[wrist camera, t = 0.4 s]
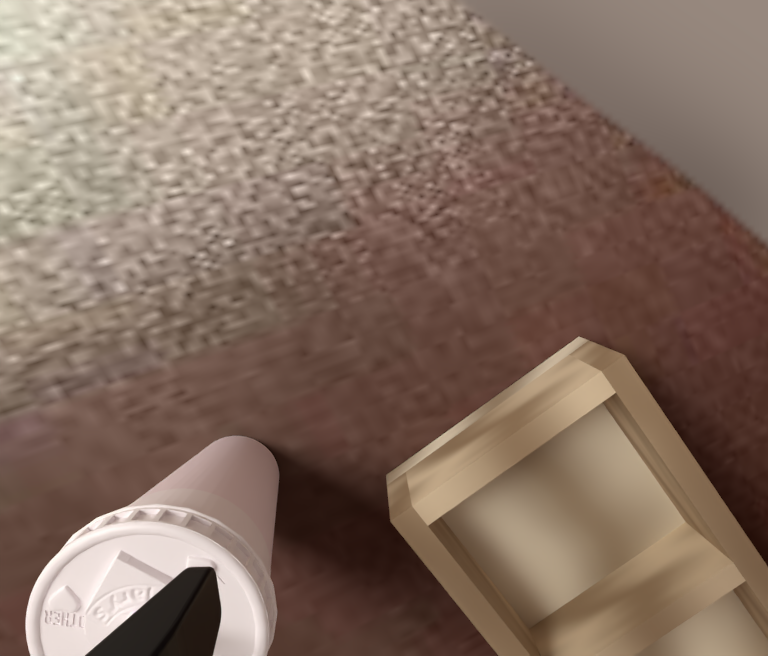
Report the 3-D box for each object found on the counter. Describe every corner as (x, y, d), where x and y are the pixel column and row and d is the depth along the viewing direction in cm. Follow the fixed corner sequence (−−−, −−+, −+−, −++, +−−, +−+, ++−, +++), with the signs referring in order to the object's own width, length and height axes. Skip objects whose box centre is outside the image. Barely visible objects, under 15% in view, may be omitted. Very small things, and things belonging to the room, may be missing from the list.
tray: (622, 773, 26) (668, 866, 22) (386, 475, 23) (390, 521, 19) (800, 657, 25) (880, 732, 22) (579, 336, 23) (624, 354, 19)
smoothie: (289, 391, 23) (169, 615, 9) (325, 524, 24) (269, 915, 10) (145, 425, 23) (-202, 703, 9) (187, 556, 24) (-65, 995, 10)
